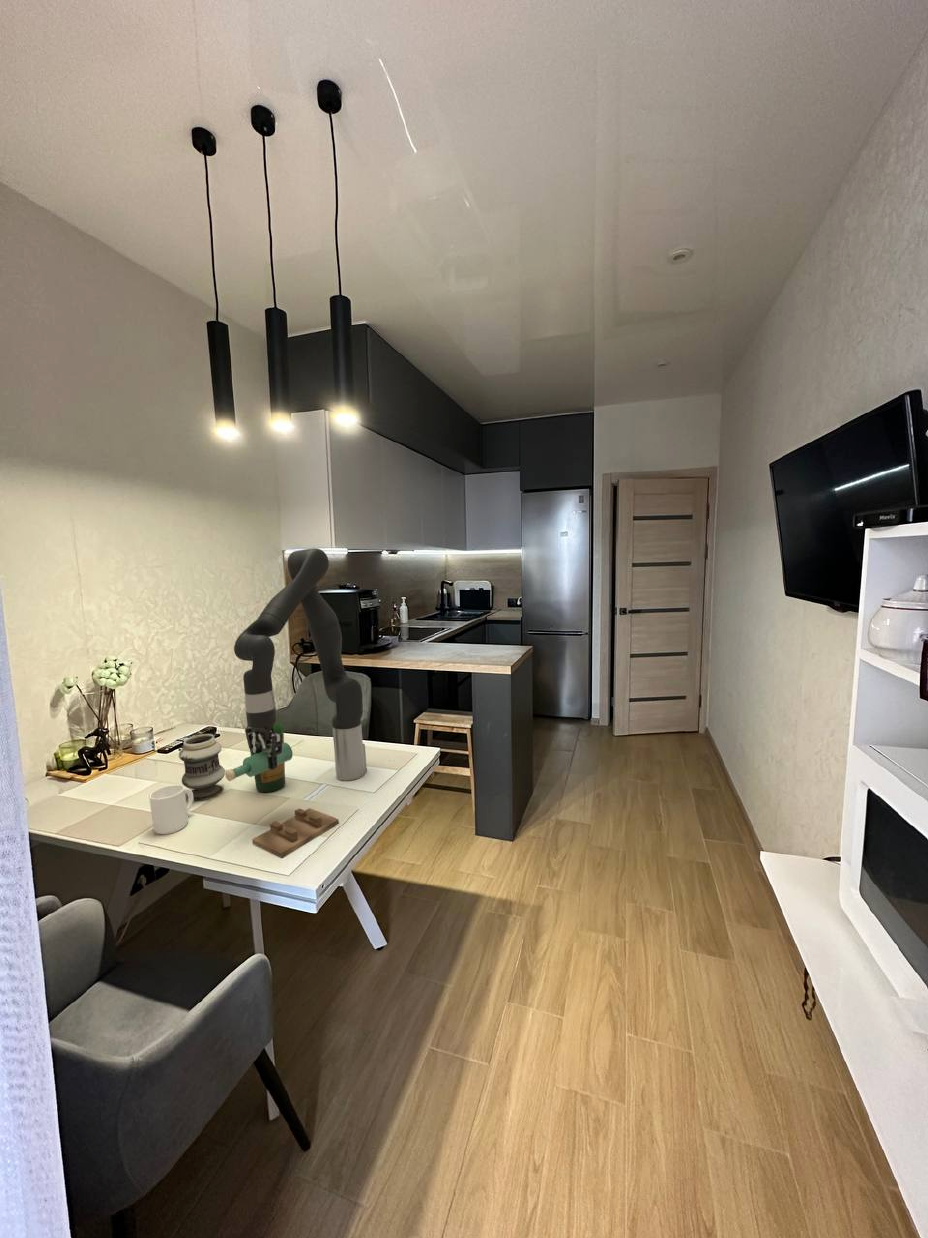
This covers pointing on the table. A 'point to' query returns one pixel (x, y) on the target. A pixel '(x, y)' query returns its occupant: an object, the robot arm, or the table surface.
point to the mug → (170, 808)
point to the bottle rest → (294, 831)
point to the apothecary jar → (202, 766)
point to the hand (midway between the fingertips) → (266, 766)
